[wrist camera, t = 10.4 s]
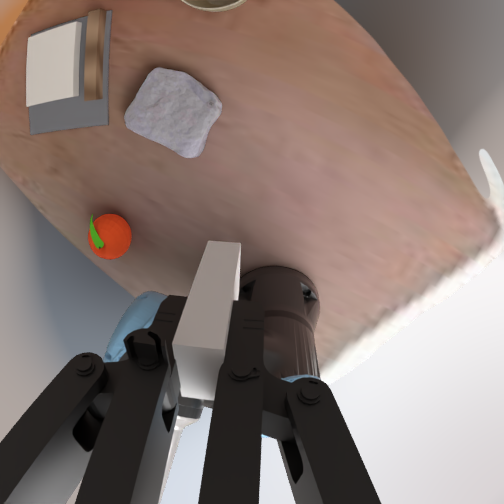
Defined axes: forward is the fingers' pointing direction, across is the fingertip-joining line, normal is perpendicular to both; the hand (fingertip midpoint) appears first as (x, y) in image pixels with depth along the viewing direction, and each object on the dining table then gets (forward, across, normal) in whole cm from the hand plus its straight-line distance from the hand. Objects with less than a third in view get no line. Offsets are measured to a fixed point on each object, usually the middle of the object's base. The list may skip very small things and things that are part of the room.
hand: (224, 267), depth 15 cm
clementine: (+30, +21, +12) cm, 38 cm away
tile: (+28, +26, -15) cm, 41 cm away
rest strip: (+29, +23, -15) cm, 40 cm away
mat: (+29, +29, -13) cm, 43 cm away
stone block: (+30, +10, -6) cm, 32 cm away
